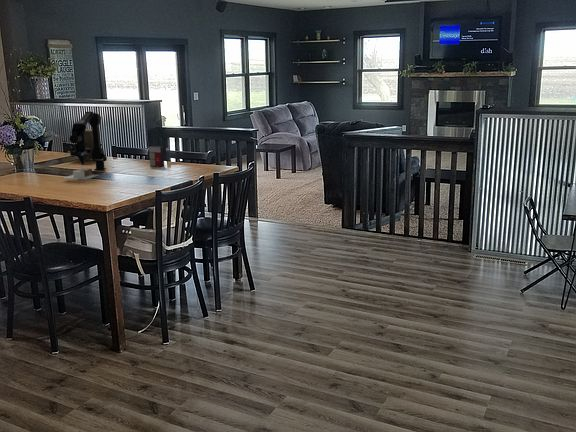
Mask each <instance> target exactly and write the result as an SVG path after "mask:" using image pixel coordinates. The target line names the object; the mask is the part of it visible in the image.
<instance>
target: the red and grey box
mask: <svg viewBox="0 0 576 432" xmlns="http://www.w3.org/2000/svg"><path fill="white" fill-rule="evenodd" d="M148 152H149V166H150V167H153V166H154V167H156V168H159V167H160V168H163V166H164V167H165V157H164V155H165V154H164V152H165V147H164V145H163V146H161V145H160V146H159V145H149V146H148Z"/></svg>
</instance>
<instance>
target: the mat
mask: <svg viewBox="0 0 576 432" xmlns="http://www.w3.org/2000/svg"><path fill="white" fill-rule="evenodd" d="M98 176H100V175H99V174H92V175H89V176H86V177H73V174H71V175H68V176H64V177H61V179H62V180H64V179H65V180H85V181H87V180H89V179H93V178H95V177H98Z"/></svg>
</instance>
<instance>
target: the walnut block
mask: <svg viewBox="0 0 576 432" xmlns="http://www.w3.org/2000/svg"><path fill="white" fill-rule="evenodd" d="M72 175H73V177H86V176H89V175H93V168H80V169H76V170H73V171H72Z"/></svg>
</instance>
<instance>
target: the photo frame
mask: <svg viewBox="0 0 576 432" xmlns="http://www.w3.org/2000/svg"><path fill="white" fill-rule="evenodd" d="M85 133H86V134H85V143H87V145H86V148H89V149H92V150H93V148H94V144H93V134H92V128H86V130H85ZM86 153H87V154H88V156H87V158H86V160H89V159H92V153H88V152H86ZM92 161H93V159H92Z"/></svg>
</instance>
